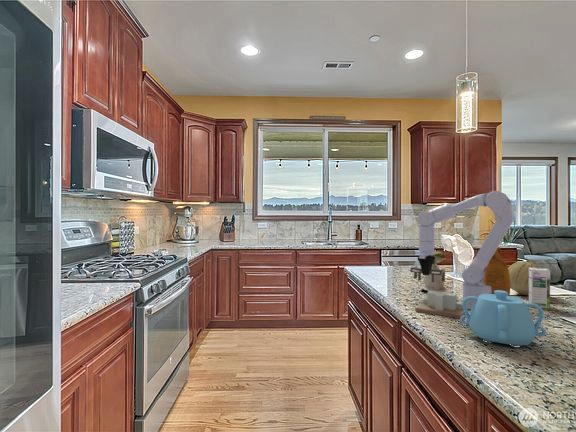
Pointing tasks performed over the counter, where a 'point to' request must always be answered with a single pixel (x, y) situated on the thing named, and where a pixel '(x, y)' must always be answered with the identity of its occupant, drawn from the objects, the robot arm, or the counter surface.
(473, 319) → the decorative pot
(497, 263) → the coffee package
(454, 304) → the tan board with cubes
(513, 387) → the counter surface
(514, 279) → the cantaloupe
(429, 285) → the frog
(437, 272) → the bracket with white balls
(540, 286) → the syrup box
